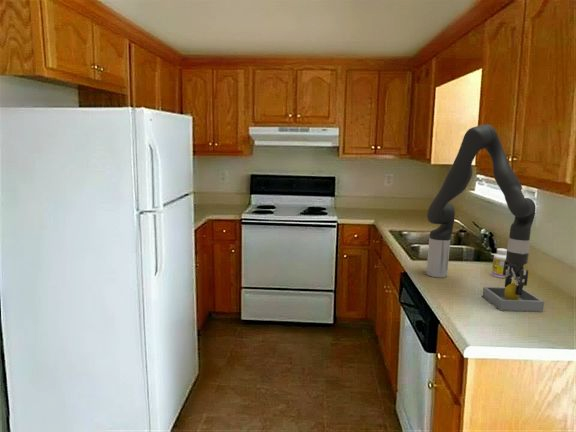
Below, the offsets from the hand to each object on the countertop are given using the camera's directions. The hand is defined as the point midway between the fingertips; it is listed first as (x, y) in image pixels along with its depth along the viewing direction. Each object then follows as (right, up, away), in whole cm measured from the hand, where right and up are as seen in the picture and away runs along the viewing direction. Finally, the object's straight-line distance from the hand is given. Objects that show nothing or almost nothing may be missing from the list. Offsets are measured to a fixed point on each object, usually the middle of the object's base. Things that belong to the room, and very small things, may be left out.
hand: (512, 291), depth 187 cm
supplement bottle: (+12, +1, +39) cm, 41 cm away
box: (0, -5, +1) cm, 5 cm away
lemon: (0, -5, +1) cm, 5 cm away
